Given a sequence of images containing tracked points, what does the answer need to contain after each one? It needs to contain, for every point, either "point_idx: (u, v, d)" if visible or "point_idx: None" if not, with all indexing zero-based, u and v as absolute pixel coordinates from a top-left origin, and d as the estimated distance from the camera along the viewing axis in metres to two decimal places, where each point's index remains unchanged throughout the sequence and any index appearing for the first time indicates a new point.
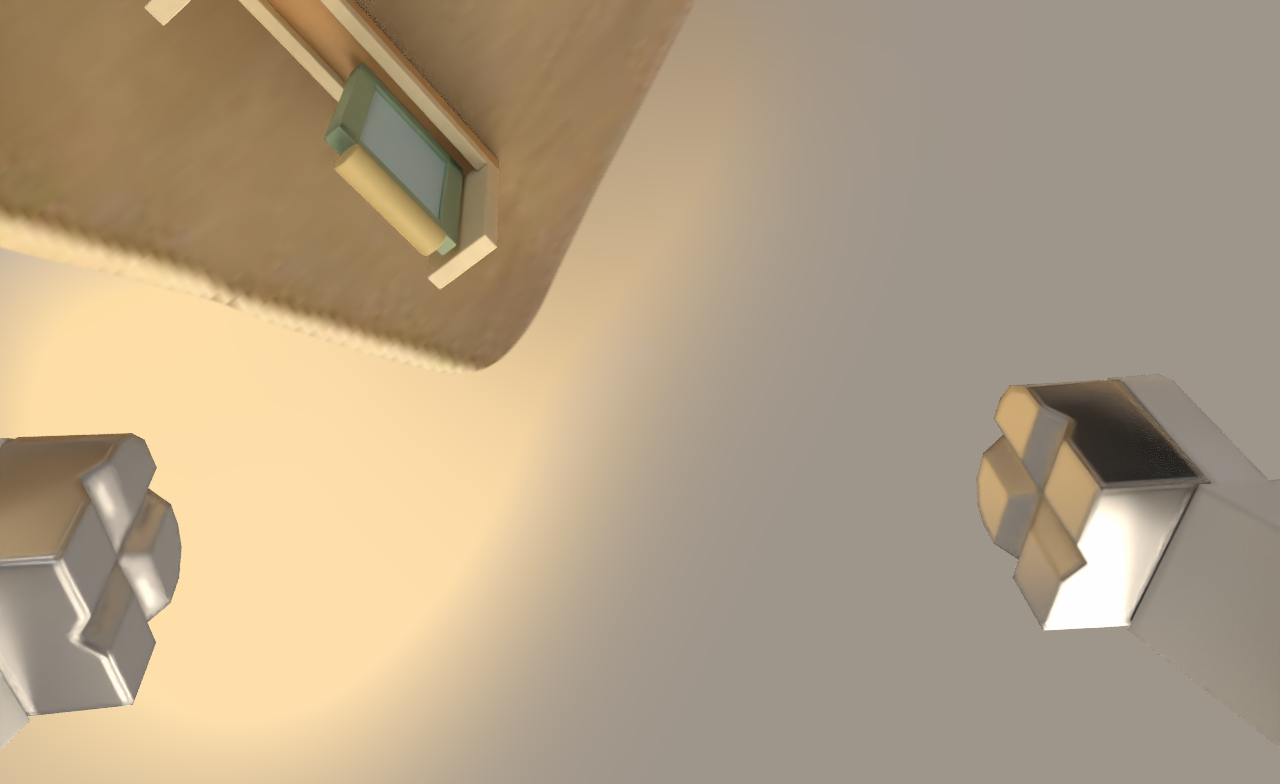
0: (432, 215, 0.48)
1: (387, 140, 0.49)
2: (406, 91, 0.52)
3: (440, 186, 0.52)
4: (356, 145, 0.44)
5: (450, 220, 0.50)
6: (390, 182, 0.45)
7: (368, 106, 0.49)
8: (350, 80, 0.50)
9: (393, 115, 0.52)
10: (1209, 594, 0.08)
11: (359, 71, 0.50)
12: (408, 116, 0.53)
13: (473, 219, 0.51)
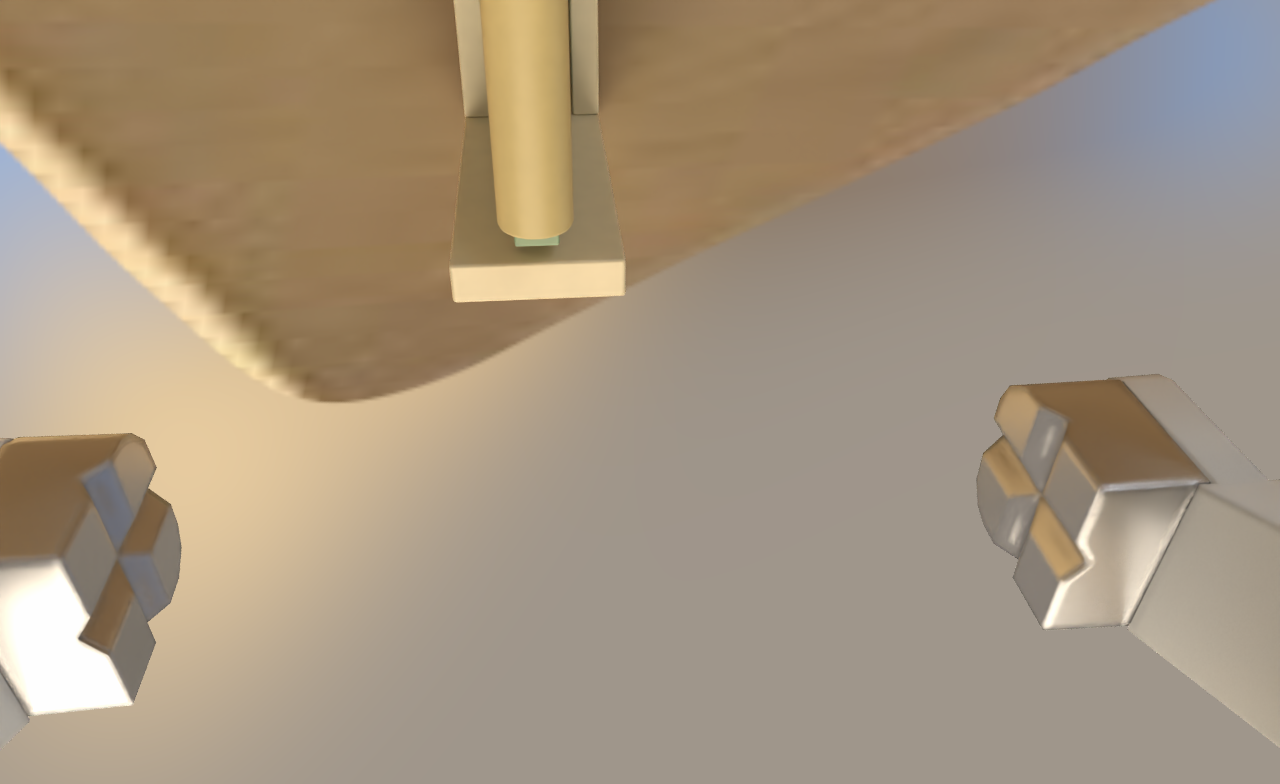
0: None
1: None
2: None
3: None
4: None
5: None
6: (567, 42, 0.18)
7: None
8: None
9: None
10: (1209, 594, 0.08)
11: None
12: None
13: (581, 207, 0.24)
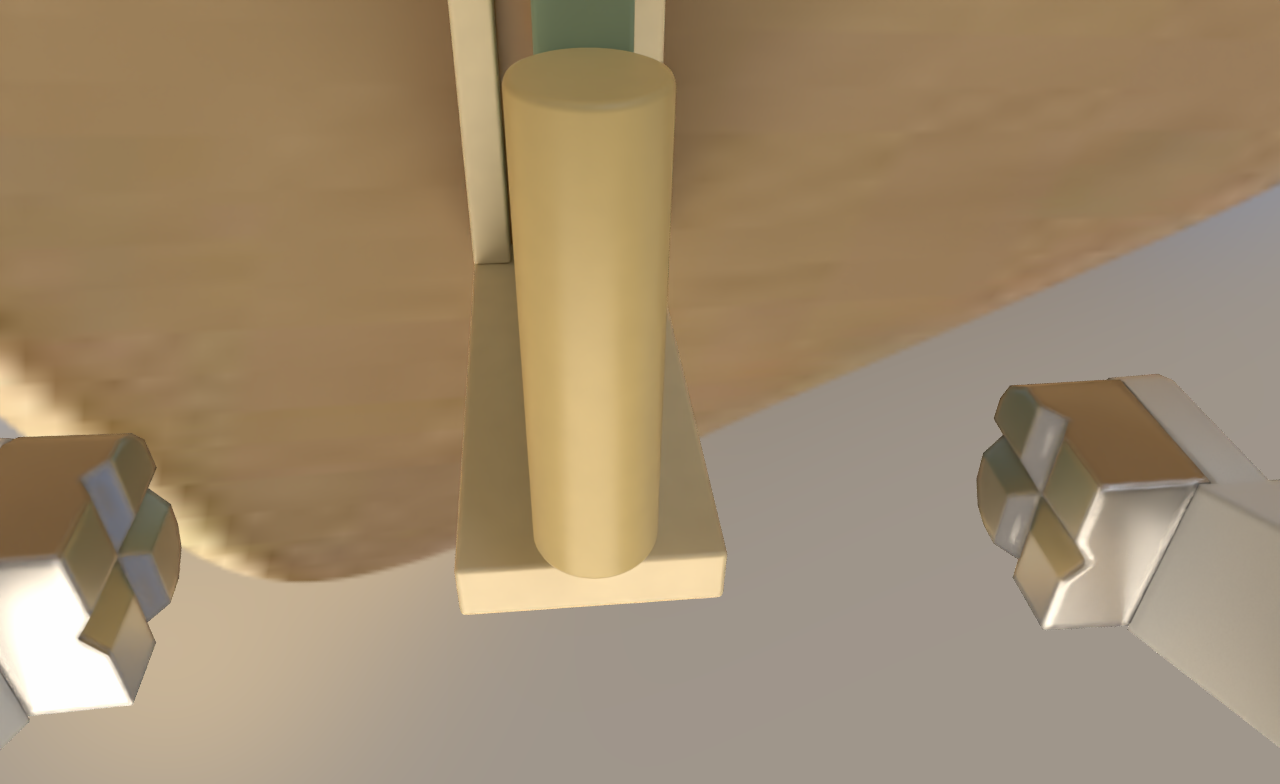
0: None
1: None
2: None
3: None
4: (665, 68, 0.09)
5: None
6: (666, 290, 0.10)
7: None
8: None
9: None
10: (1209, 593, 0.08)
11: None
12: None
13: None
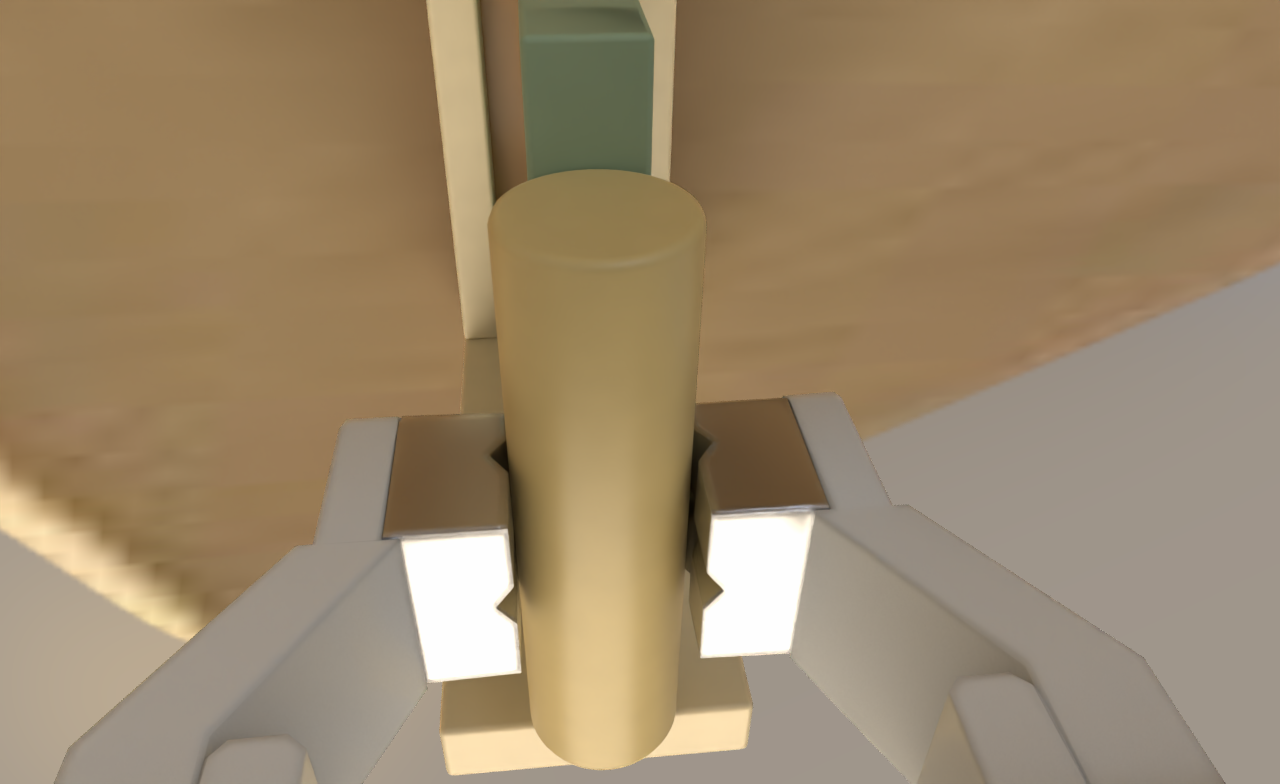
0: None
1: None
2: None
3: None
4: (692, 201, 0.07)
5: None
6: (691, 456, 0.08)
7: None
8: None
9: None
10: (839, 623, 0.08)
11: None
12: None
13: None
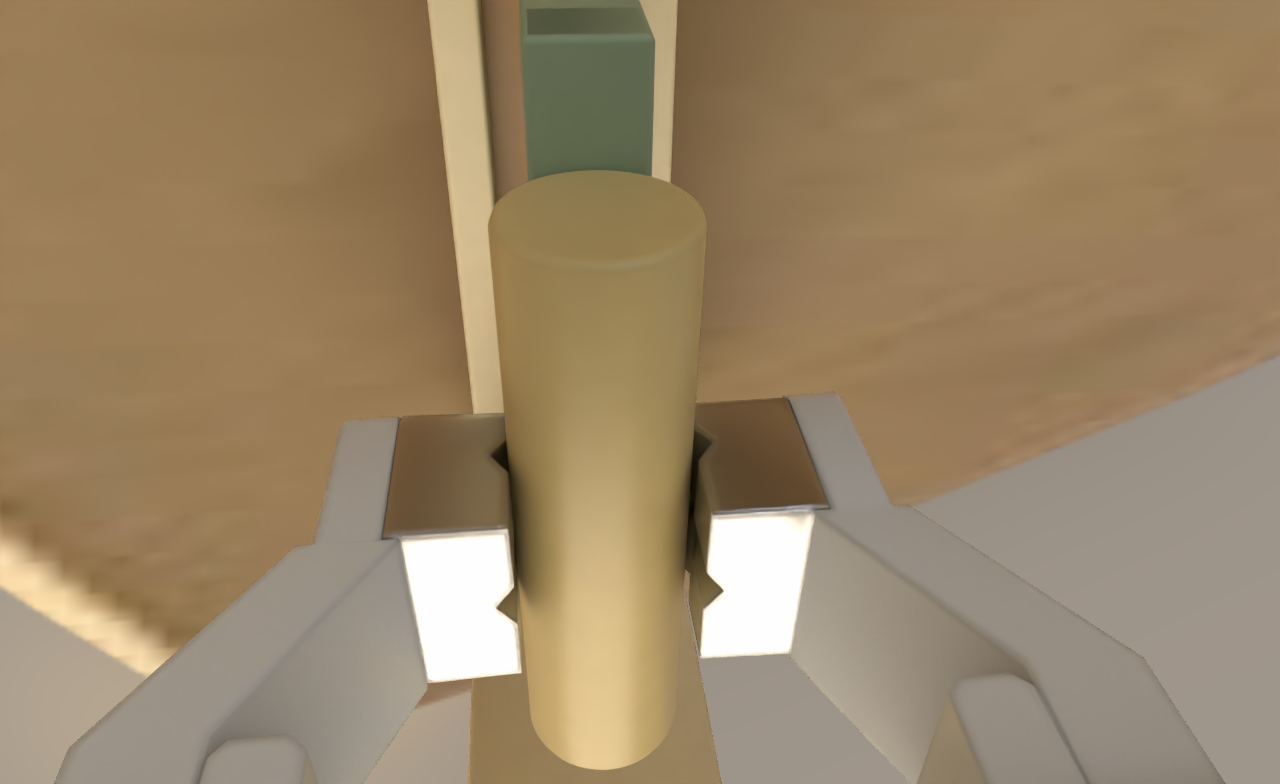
0: None
1: None
2: None
3: None
4: (693, 203, 0.07)
5: None
6: (691, 457, 0.08)
7: None
8: None
9: None
10: (839, 623, 0.08)
11: None
12: None
13: None
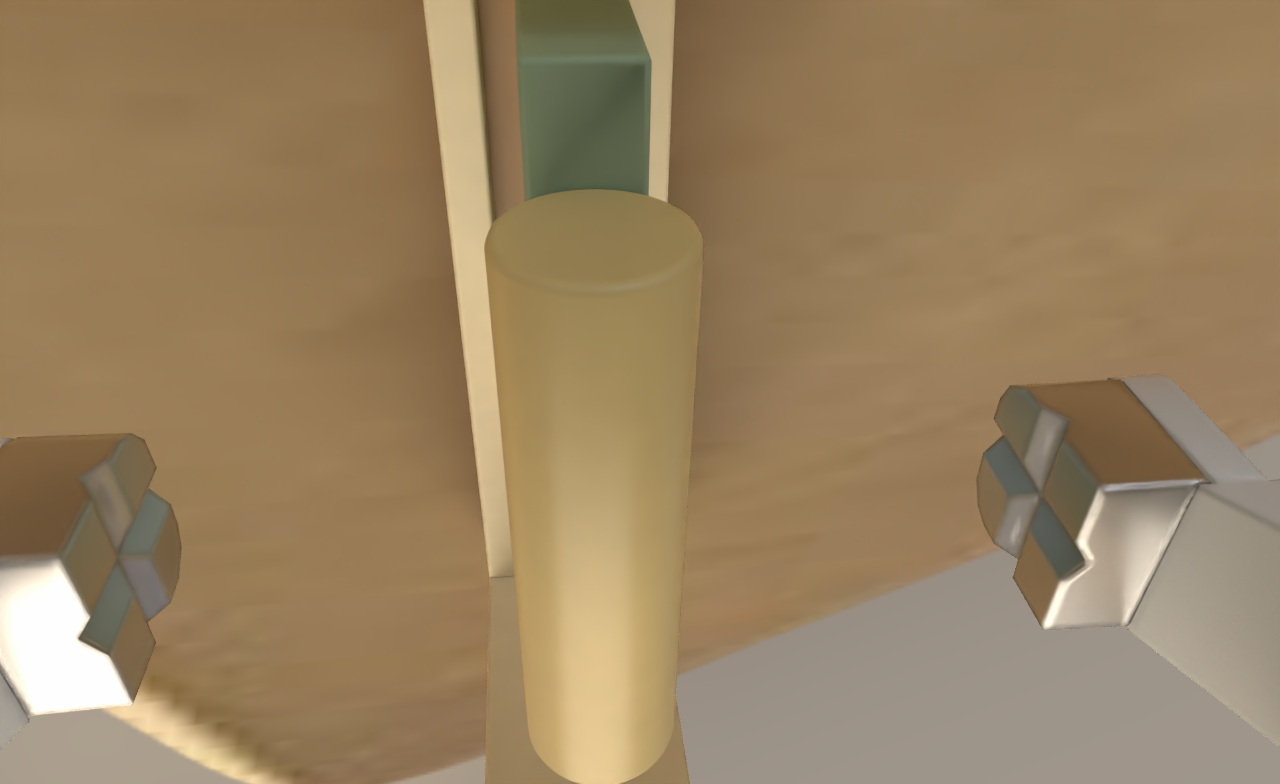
0: None
1: None
2: None
3: None
4: (690, 223, 0.07)
5: None
6: (689, 475, 0.08)
7: None
8: None
9: None
10: (1209, 594, 0.08)
11: None
12: None
13: None
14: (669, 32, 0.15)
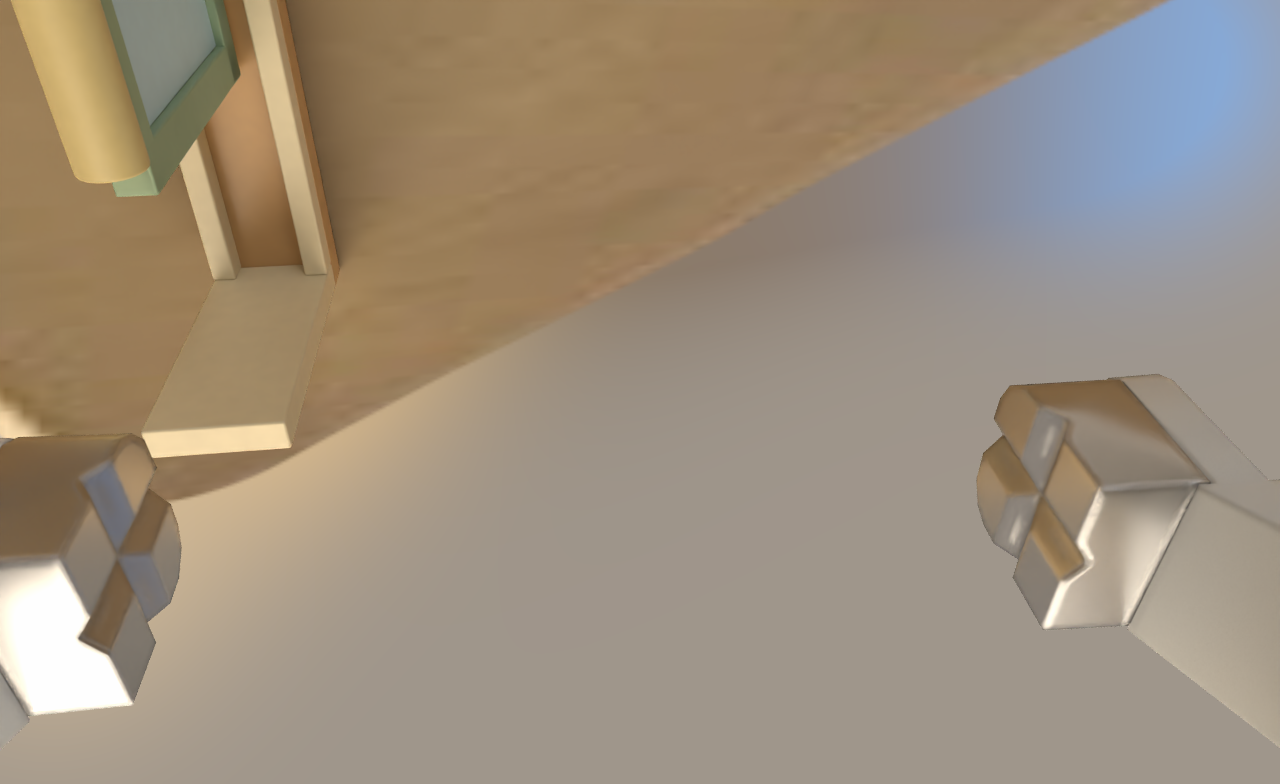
0: (142, 115, 0.22)
1: None
2: (272, 115, 0.31)
3: (187, 76, 0.26)
4: None
5: (172, 143, 0.24)
6: None
7: None
8: None
9: None
10: (1209, 594, 0.08)
11: None
12: None
13: (271, 370, 0.29)
14: None
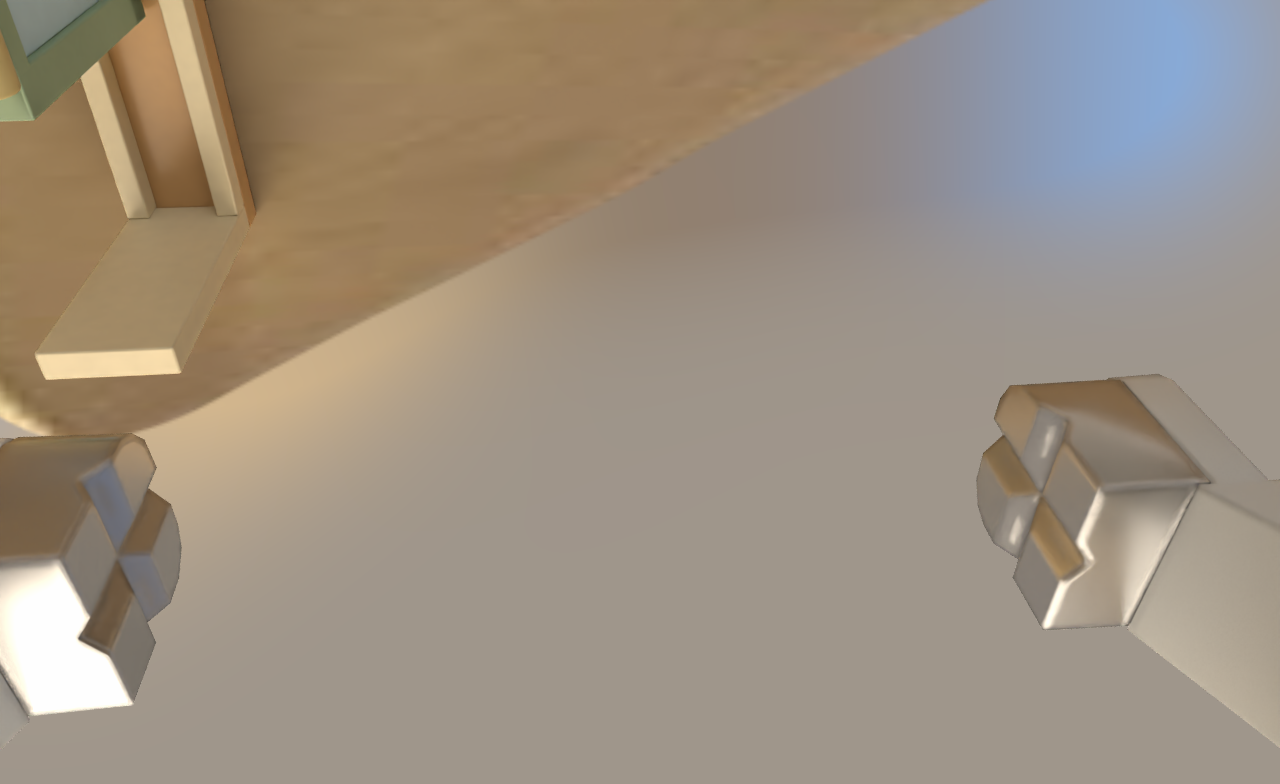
0: (16, 42, 0.24)
1: None
2: (177, 57, 0.32)
3: (79, 12, 0.28)
4: None
5: (53, 73, 0.25)
6: None
7: None
8: None
9: None
10: (1209, 593, 0.08)
11: None
12: None
13: (168, 301, 0.31)
14: None
